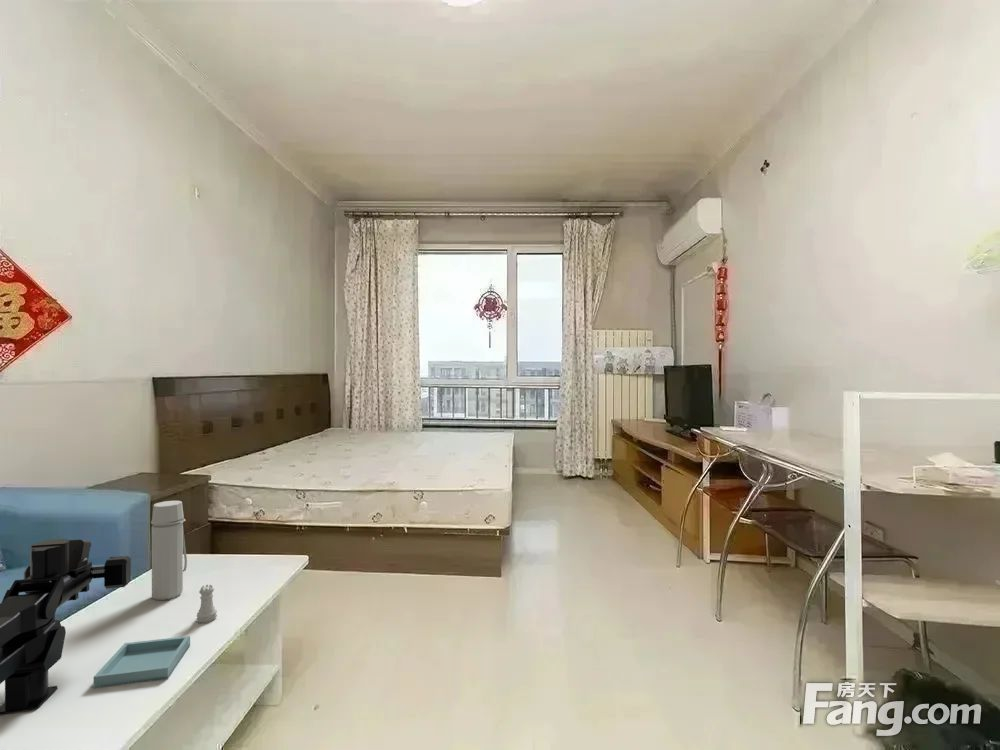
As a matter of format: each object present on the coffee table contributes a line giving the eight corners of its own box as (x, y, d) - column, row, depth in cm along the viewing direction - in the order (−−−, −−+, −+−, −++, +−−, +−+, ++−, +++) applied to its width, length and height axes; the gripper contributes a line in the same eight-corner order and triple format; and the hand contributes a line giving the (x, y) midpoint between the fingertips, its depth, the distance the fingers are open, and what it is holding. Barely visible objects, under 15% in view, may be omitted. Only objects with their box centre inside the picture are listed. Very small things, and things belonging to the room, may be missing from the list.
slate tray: (167, 678, 101) (167, 667, 101) (93, 688, 98) (93, 676, 98) (190, 645, 113) (190, 635, 113) (124, 653, 110) (124, 643, 110)
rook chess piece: (193, 624, 122) (193, 591, 122) (199, 616, 127) (199, 584, 127) (214, 622, 124) (214, 589, 123) (219, 613, 128) (219, 582, 128)
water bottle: (165, 603, 134) (165, 508, 133) (143, 599, 136) (143, 505, 136) (196, 589, 142) (196, 499, 142) (175, 585, 145) (175, 497, 145)
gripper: (112, 545, 105) (145, 524, 120) (3, 553, 101) (51, 530, 116) (112, 599, 105) (145, 571, 120) (3, 609, 101) (51, 579, 116)
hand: (99, 561), depth 118 cm, fingers open, 9 cm apart
